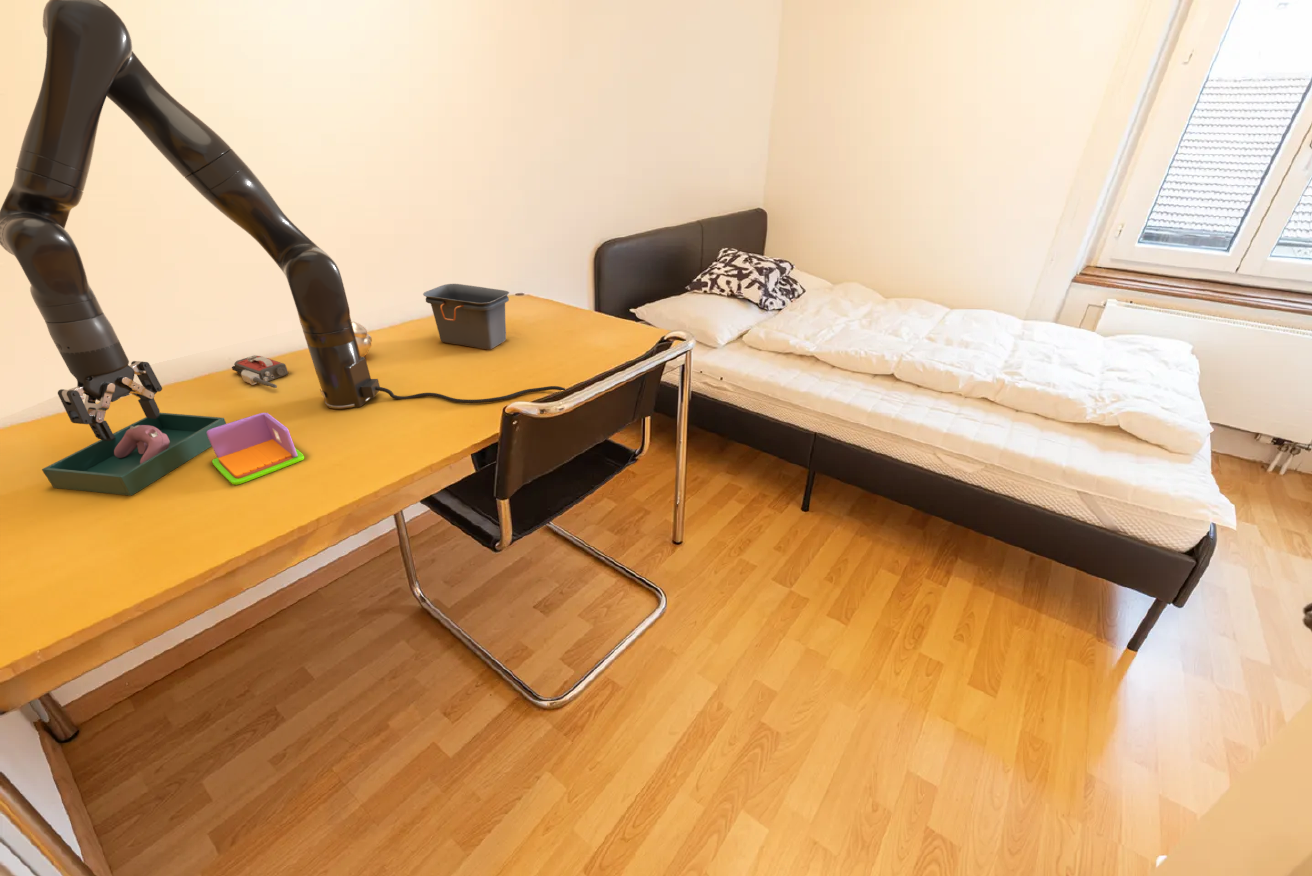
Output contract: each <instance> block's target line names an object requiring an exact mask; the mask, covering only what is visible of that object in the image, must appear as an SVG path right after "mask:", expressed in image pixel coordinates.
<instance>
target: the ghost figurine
mask: <svg viewBox="0 0 1312 876" xmlns="http://www.w3.org/2000/svg"><path fill="white" fill-rule="evenodd" d="M351 322H352V326H353V330H354V333H355V337H356V341H357V345H358V348H359V352H360V355H361V357H365V356H366V355H367V354H368V353H369V349H371V348H372V342H373V338H372V336H371V335H370V334H369V333H368V330H367V328H366V327H365V326H363V325H362V324H361V323H359V322H356V321H351Z"/></svg>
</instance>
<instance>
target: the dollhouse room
mask: <svg viewBox="0 0 1312 876" xmlns="http://www.w3.org/2000/svg"><path fill="white" fill-rule="evenodd" d="M207 436H208V439H209V441H210V443H211V448H212V450H213V452H214V454H215V456H216V457H215V458H213V459H212V461H211V463H212V465H213V466H214V467H215V468H216V470H218V472H219V473H220V474H221V475H222V476H223V477H224V478H225V479H226V480H227V481H228V482H229V483H230V484H232V485H233V486H238V485H241V484H244V483H247V482H249V481H253V480H254V479H255V480H256V479H258V478H260V477H262V476H265V475H269V474H271V473H273V472H275V471H279V470H281V469H284V468H287V467H288V466H291V465H294V464H296V463H299V462H302V461H304V459H305V456H304V454H303V453H302V452H301V451H300V450H299V449H297V448H296V447H295V443H294V441H293V439H292V437H291V433H290V430H289V428H288V427H287V426H285V425H284V424H283V423H281V422H280V421H279V420H277V419H276V417H274V416H273V415H271V414H269V412H259V413H257V414H253V415H250V416H247V417H244V418H240V419H238V420H234V421H231V422H227V423H226V424H224V425H221V426H218V427H215V428H212V429H210V430H208V431H207Z"/></svg>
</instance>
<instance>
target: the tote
mask: <svg viewBox="0 0 1312 876" xmlns="http://www.w3.org/2000/svg"><path fill="white" fill-rule="evenodd" d="M159 415H160V416H159V417H158V418H156V419H152V418H147V417H146V416H145V417H143V418H141V419H139V420H136V421H135V422H134V423H131V424H129V425H128V426H125V427H123V428H121V429H119V430H117V431H115V432H112V433H113V435H114V437H115V439H114V440H112V441H103V440H101V439H98V440H97V441H95V442H93V443H92V444H89V445H87V446H85V447H83V448H81V449H79V450H77V451H75V452H74V453H71V454H70V455H68V456H65V457H63V458H61V459H59V460H57V461H56V462H53V463H51V464H50V465H48V466H45V467H43V468H42V469H41V471H42V473H43V474H44V475H45V477H46V478H47V480H48V481H49V483H50V484H51V487H52V488H53V489H62V490H73V491H81V492H90V493H100V494H112V495H121V496H130V497H132V496H133V495H135V494H136V493H138V492H140V491H142V490H143V489H145V488H146V487H148V486H150V485H151V484H153V483H154V482H157V481H158V480H160V479H161V478H163V477H164V476H166V475H168V474H169V473H171V472H172V471H174V470H175V469H177V468H180V466H182V465H184V464H185V463H187V462H188V461H190V460H192V459H193V458H195V457H197V456H198V455H200V454H202V453H204V452H205V451H207V449H210V448H212V446H211V443H210V441H209V439H208V436H207V431H208V430H210V429H212V428H215V427H218V426H221V425H224V424H227V422H226V419H225V418H224V417H219V416H209V415H208V416H207V415H195V414H184V413H171V412H170V413H169V412H160V413H159ZM137 425H150V426H153V427H156V428H157V429H159V430H160V431H161V432H162V433H164V434H166V435H167V436H168V438H169V441H170V444H169V447H168V448H167V449H166V450H164V451H162V452H160V453H159V454H157V455H155V456H153V457H152V458H150V459H148V460H146V461H145V462H143V463H141V464H140V460H141V458H142V456H143V455H144V454H140V453H139V452H138V447H137V448H136V449H135V450H134V451H133V452H132V453H131V454H129V455H128V456H126V457H124V458H117V457H116V456H115V455H114V450H115V448H116V446H117V445H118V443H119V442H120V441H121V440H122V438H123V437H124V435H125V433H126V431H127V430H128V429H130V427H131V426H132V427H135V426H137Z"/></svg>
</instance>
